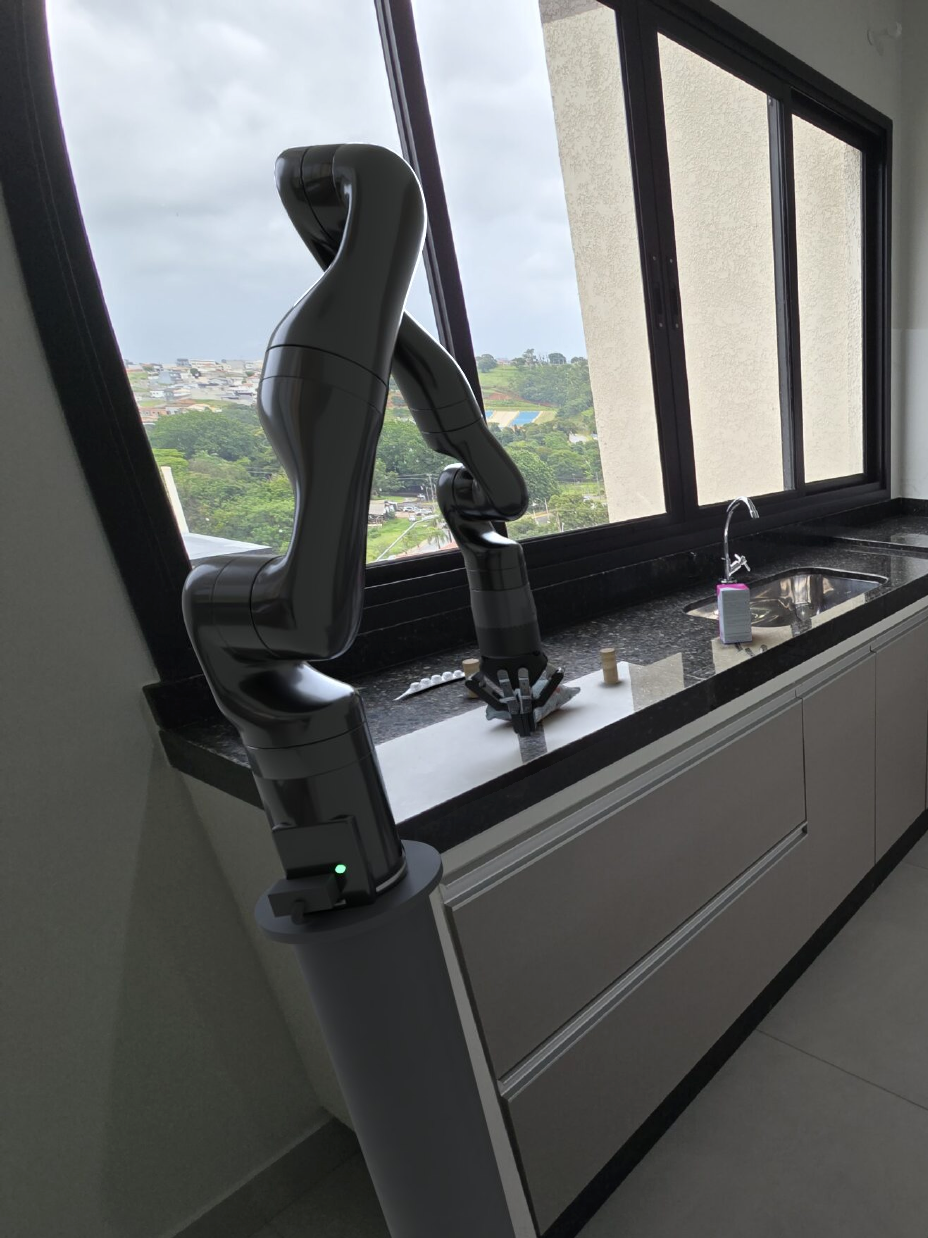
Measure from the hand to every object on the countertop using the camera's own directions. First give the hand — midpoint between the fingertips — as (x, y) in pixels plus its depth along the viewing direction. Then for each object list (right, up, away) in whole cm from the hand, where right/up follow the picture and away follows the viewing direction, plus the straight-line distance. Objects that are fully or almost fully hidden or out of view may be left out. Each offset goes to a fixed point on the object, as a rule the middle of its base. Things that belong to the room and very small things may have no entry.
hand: (526, 734), depth 105 cm
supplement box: (+19, +15, +47) cm, 53 cm away
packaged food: (-3, +2, +10) cm, 11 cm away
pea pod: (-26, +6, +21) cm, 34 cm away
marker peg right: (+3, +7, +24) cm, 25 cm away
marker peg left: (-17, +5, +17) cm, 25 cm away
